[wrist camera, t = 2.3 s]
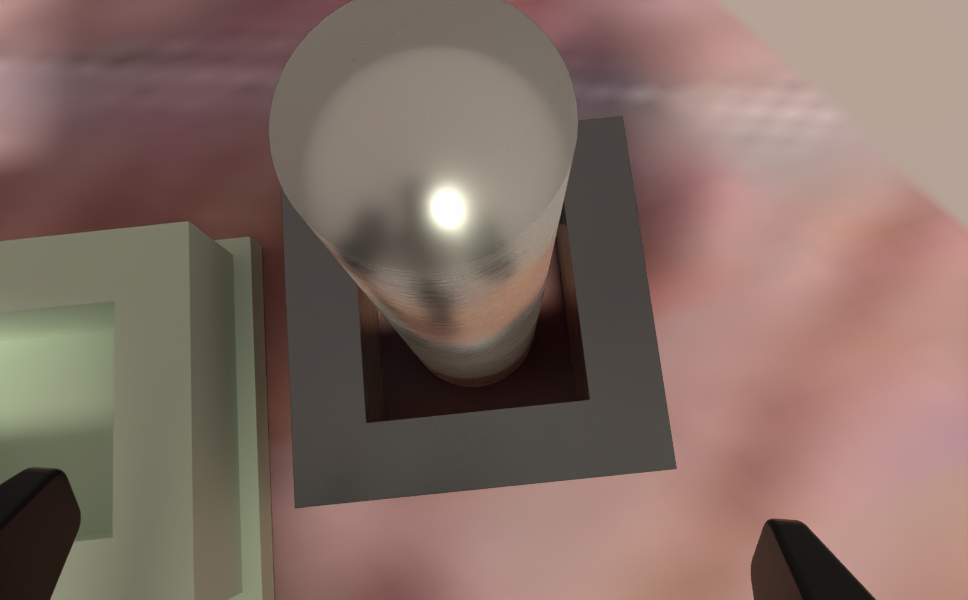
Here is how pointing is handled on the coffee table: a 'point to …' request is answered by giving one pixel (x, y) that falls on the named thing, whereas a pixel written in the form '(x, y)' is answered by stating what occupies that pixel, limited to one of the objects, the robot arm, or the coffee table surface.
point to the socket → (494, 433)
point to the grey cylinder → (433, 168)
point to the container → (143, 406)
